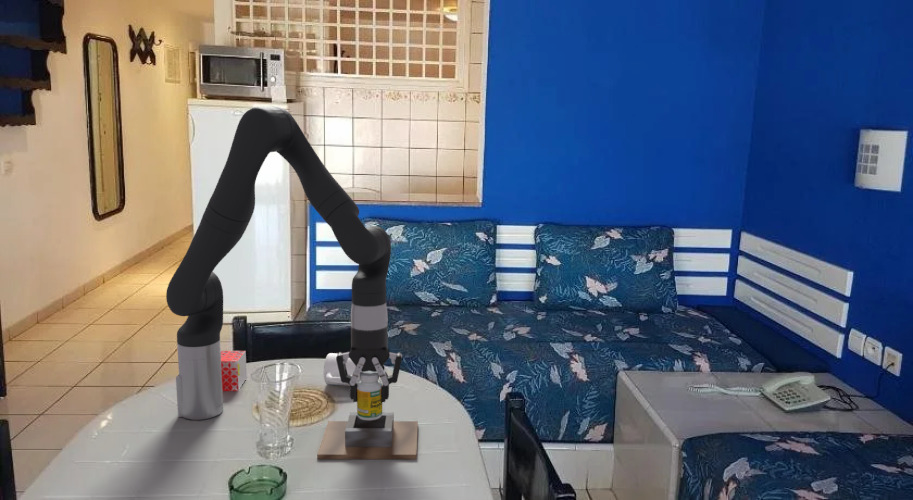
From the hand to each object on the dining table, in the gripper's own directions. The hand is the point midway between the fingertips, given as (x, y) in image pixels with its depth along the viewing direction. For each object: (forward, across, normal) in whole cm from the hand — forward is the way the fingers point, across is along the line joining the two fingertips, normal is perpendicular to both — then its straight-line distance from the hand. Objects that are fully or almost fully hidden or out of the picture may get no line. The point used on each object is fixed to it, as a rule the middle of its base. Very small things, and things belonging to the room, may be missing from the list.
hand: (369, 400), depth 152 cm
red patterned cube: (+10, -39, +32) cm, 51 cm away
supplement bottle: (+4, 0, 0) cm, 4 cm away
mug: (+10, -9, +31) cm, 34 cm away
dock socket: (+9, 0, 0) cm, 9 cm away
